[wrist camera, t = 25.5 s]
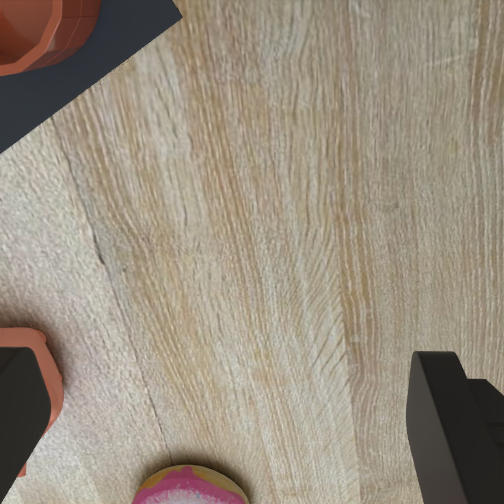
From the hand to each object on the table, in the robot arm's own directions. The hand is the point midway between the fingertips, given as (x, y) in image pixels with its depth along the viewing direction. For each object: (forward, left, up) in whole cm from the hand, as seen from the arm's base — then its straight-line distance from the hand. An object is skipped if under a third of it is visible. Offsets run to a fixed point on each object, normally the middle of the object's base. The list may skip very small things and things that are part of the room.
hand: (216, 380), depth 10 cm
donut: (+30, +32, -28) cm, 52 cm away
